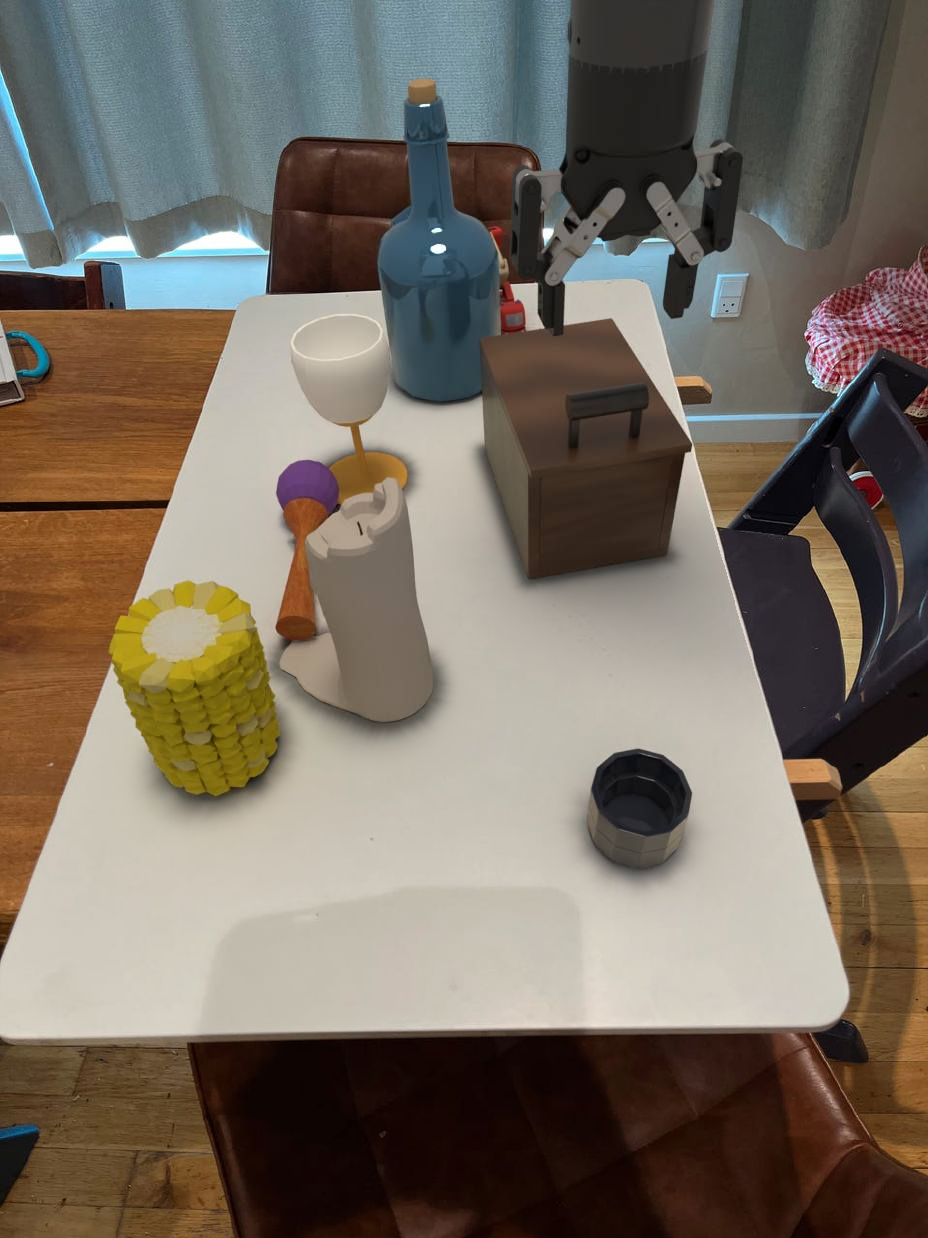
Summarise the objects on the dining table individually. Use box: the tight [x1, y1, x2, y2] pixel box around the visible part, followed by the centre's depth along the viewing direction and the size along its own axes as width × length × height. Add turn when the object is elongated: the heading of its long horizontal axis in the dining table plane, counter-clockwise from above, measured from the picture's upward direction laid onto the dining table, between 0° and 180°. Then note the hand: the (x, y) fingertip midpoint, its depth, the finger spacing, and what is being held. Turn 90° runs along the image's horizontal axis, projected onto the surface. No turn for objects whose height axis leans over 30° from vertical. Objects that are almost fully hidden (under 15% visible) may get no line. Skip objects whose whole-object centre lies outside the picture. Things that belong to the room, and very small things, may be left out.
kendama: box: [275, 459, 339, 641], centre depth 72 cm, size 6×6×20 cm
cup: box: [289, 313, 409, 506], centre depth 76 cm, size 9×9×16 cm
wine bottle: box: [375, 78, 501, 403], centre depth 83 cm, size 14×13×30 cm
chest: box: [480, 348, 686, 580], centre depth 73 cm, size 20×13×12 cm, turn 10°
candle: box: [279, 477, 435, 723], centre depth 57 cm, size 7×14×20 cm, turn 65°
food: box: [108, 579, 281, 797], centre depth 55 cm, size 15×12×10 cm
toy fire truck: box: [487, 225, 527, 335], centre depth 99 cm, size 3×14×10 cm, turn 14°
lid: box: [479, 317, 693, 478], centre depth 66 cm, size 21×13×5 cm, turn 10°
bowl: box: [586, 747, 693, 869], centre depth 52 cm, size 6×6×5 cm
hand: (613, 321), depth 55 cm, fingers open, 8 cm apart
